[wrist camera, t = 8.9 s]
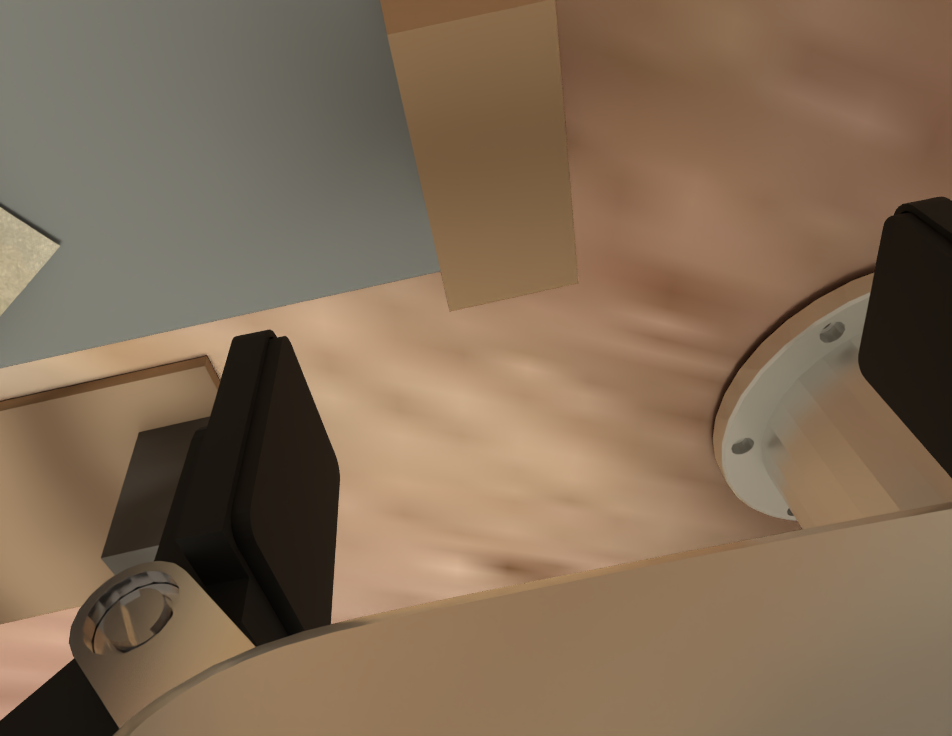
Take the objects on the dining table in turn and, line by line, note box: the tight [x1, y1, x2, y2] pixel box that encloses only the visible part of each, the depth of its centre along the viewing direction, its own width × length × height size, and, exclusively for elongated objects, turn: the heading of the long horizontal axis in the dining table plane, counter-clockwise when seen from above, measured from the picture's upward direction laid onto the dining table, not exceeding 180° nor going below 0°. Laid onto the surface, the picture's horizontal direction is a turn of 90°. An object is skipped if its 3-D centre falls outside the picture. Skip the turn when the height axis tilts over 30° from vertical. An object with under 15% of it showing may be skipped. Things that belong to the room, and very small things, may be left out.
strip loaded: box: [0, 0, 578, 368], centre depth 17 cm, size 24×10×6 cm, turn 99°
